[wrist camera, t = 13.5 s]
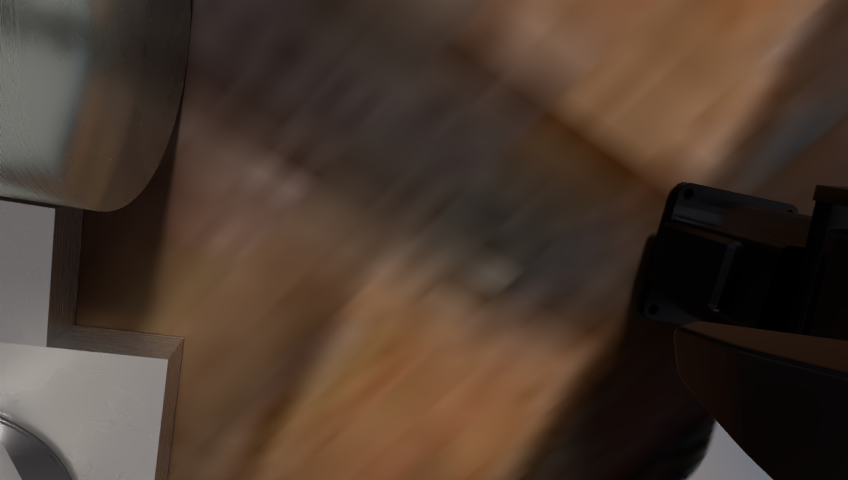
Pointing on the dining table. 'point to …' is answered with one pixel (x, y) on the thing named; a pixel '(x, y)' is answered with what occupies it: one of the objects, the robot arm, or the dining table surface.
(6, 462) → the white pedestal with button
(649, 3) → the dining table surface
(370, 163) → the dining table surface
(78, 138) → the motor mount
